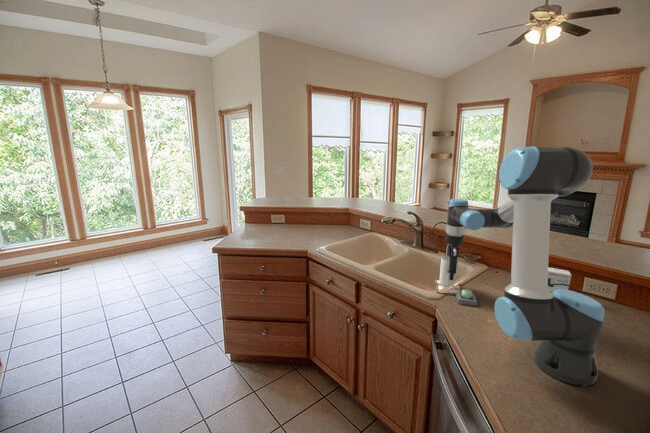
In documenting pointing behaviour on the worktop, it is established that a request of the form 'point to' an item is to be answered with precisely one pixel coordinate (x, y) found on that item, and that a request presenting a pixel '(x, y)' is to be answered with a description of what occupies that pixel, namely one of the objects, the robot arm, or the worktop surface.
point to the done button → (466, 294)
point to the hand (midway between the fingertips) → (449, 281)
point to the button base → (466, 301)
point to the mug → (445, 269)
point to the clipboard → (440, 286)
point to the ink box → (558, 279)
